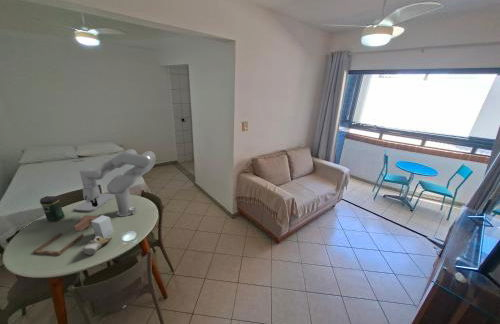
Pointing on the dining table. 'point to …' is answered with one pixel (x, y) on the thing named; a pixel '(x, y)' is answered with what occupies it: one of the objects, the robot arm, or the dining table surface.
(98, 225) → the supplement box
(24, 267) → the dining table surface
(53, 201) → the coffee jar
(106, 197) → the tablet
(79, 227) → the t block
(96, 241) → the ceramic sculpture
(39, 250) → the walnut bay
